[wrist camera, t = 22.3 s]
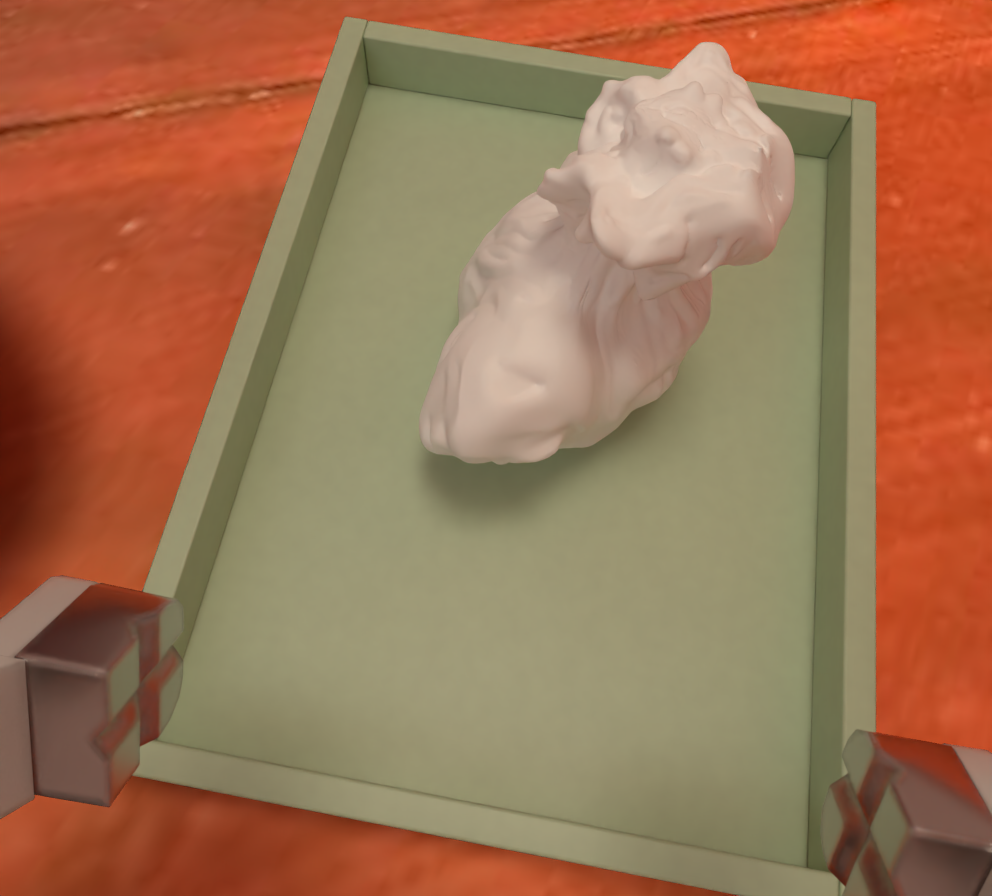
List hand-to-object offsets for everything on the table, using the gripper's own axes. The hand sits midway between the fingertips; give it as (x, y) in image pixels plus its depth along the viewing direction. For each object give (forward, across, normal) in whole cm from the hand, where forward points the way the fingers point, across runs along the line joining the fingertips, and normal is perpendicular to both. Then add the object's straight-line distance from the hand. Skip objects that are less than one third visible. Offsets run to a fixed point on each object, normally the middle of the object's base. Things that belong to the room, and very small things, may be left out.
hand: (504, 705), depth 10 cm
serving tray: (+16, 0, +2) cm, 16 cm away
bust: (+17, 0, 0) cm, 17 cm away
